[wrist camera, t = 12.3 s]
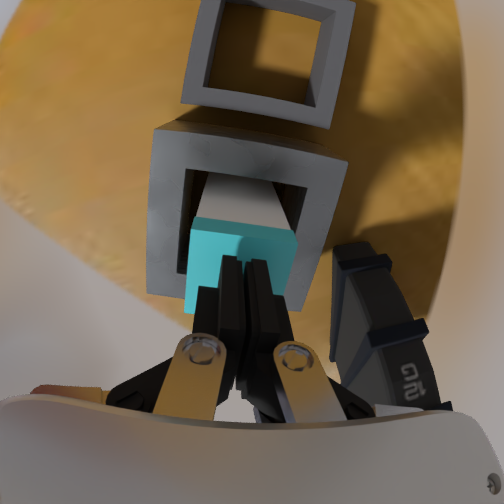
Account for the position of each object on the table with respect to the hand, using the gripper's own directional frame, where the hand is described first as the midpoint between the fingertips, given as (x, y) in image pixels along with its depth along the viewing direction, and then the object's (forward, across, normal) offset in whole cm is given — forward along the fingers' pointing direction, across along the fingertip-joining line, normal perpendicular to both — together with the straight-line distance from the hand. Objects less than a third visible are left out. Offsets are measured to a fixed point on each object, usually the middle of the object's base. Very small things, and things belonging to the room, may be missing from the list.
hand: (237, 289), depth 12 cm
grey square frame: (+10, 0, -10) cm, 14 cm away
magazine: (+10, -11, +8) cm, 17 cm away
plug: (+10, 0, 0) cm, 10 cm away
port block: (+10, 0, 0) cm, 10 cm away
